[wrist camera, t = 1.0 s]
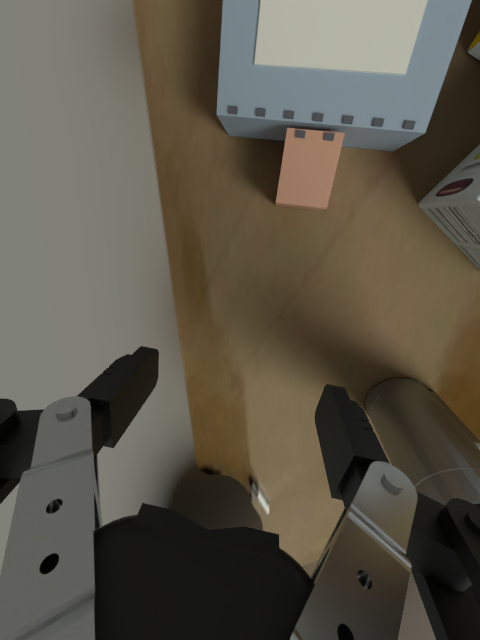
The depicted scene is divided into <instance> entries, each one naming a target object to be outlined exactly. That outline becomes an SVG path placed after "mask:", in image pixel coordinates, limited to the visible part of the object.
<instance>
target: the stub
mask: <svg viewBox="0 0 480 640" xmlns="http://www.w3.org/2000/svg"><path fill="white" fill-rule="evenodd" d="M344 135H345V133H340V132H329V131H318V130H307V129H296V128H287V133H286V139H285V146H284V152H283V159H282V165H281V171H280V178H279V184H278V191H277V197H276V206H283V207H291V208H300V209H308V210H317V211H318V210H323V209H327V206H328V202H329V198H330V193H331V189H332V185H333V181H334V177H335V172H336V168H337V164H338V160H339V156H340V151H341V147H342V143H343V139H344Z"/></svg>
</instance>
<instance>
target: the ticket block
mask: <svg viewBox="0 0 480 640" xmlns="http://www.w3.org/2000/svg"><path fill="white" fill-rule="evenodd" d="M471 1H472V0H223V7H222V25H221V43H220V61H219V79H218V97H217V114H216V115H217V117H218V118H219V120H220V122H221V123H222V125H223V127H224V129H225V130H226V132H227V134H228V135H229V136H236V137H246V138H257V139H268V140H278V141H285V139H286V133H287V128H296V129H307V130H318V131H329V132H340V133H345V135H344V139H343V143H342V147H352V148H363V149H373V150H384V151H395V150H397V149H398V148H400V147H402V146H404V145H405V144H407V143H409V142H411V141H412V140H414V139H416V138H418V137H419V136H421V135H423V134H425V133H426V130H427V127H428V124H429V121H430V118H431V115H432V113H433V110H434V107H435V104H436V101H437V98H438V95H439V93H440V90H441V87H442V84H443V81H444V78H445V76H446V73H447V70H448V67H449V64H450V61H451V58H452V56H453V53H454V50H455V47H456V44H457V41H458V38H459V36H460V33H461V30H462V27H463V24H464V21H465V18H466V16H467V13H468V10H469V7H470V4H471Z"/></svg>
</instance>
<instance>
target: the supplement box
mask: <svg viewBox="0 0 480 640" xmlns="http://www.w3.org/2000/svg"><path fill="white" fill-rule="evenodd" d="M418 206H419V207H420V208H421V209H422V210H423V211H424V212H425V214H426V215H427V216H428V217H429V218H430V219H431V220H432V221H433V222H434V223H435V224H436V225H437V226H438V227H439V228H440V229H441V230H442V231H443V232H444V233H445V234H446V235H447V236H448V237H449V239H450V240H451V241H452V242H453V243H454V244H455V245H456V246H457V247H458V248H459V249H460V250H461V251H462V252H463V253H464V254H465V255H466V256H467V257H468V258H469V259H470V260H471V261H472V262H473V263H474V265H475V266H476V267H477V268H478V269H479V270H480V144H479V145H478V146H477V147H476V148H475V149H474V150H473V151H472V152H471V153H470V154H469V155H468V156H467V157H466V158H465V159H464V160H463V161H462V162H461V163H460V164H458V165H457V166H456V167H455V168H454V169H453V170H452V171H451V172H450V173H449V174H448V175H447V176H446V177H445V178H444V179H443V180H442V181H441V182H440V183H439V184H437V185H436V186H435V187H434V188H433V189H432V190H431V191H430V192H429V193H428V194H427V195H426V196H425V197H424V198H423V199H422V200H421V201H420V202H419V203H418Z"/></svg>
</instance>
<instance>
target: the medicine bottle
mask: <svg viewBox="0 0 480 640" xmlns="http://www.w3.org/2000/svg"><path fill="white" fill-rule="evenodd" d="M468 53H469V54H470V55H472V56H473V57H475V58H477V59H478V60H480V31H479V33H478V34H477V36H476V37H475V39H474V40H473V42H472V43H471V45H470V46H469V48H468Z"/></svg>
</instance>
